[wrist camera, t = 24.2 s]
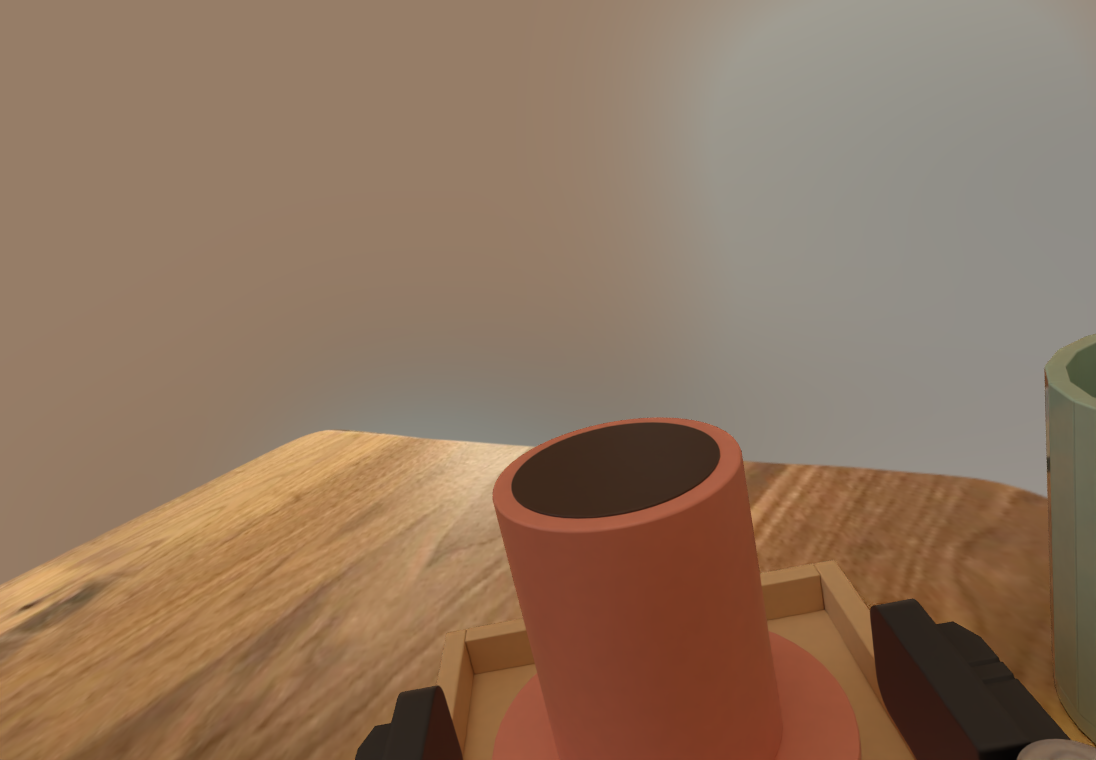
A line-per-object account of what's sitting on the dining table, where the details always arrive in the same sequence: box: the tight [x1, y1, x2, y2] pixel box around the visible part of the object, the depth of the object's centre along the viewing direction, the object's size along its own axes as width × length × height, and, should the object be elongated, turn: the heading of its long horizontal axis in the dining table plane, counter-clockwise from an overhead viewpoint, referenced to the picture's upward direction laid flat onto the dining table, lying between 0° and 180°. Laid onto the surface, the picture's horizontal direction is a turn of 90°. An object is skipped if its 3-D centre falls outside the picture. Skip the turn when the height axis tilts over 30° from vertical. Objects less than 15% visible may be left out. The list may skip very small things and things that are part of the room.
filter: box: [492, 418, 862, 760], centre depth 21 cm, size 10×10×10 cm
